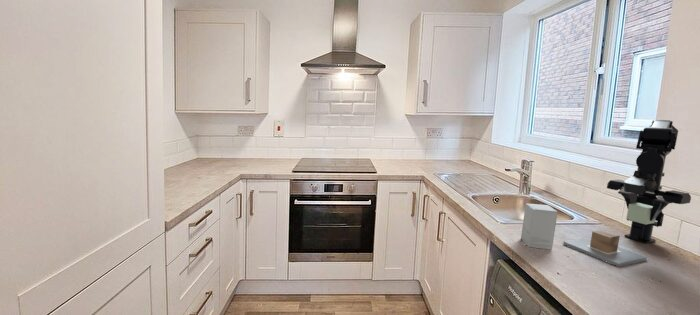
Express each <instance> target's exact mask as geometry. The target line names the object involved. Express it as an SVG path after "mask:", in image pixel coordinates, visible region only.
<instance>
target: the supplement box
mask: <svg viewBox="0 0 700 315" xmlns="http://www.w3.org/2000/svg"><path fill="white" fill-rule="evenodd" d="M557 218H558V211H557V210H556V209H554V208H553V207H552V206H550V205H548V204H540V203H539V204H537V203H527V202H526V203H525V206H524V213H523V220H522V227H521V233H520V234H521V235H520V239H521V240H522V242H523V243H524V244H525V245H526V246H527V248H528V247H529V248H535V249H544V250H553V245H554V240H555V239H554V238H555V232H556V225H557Z"/></svg>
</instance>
